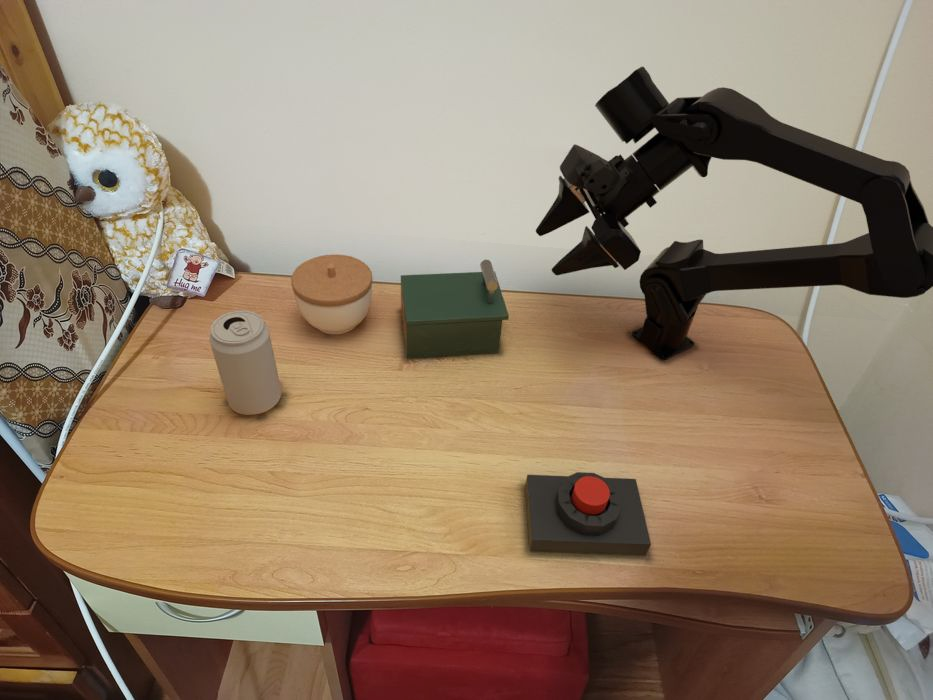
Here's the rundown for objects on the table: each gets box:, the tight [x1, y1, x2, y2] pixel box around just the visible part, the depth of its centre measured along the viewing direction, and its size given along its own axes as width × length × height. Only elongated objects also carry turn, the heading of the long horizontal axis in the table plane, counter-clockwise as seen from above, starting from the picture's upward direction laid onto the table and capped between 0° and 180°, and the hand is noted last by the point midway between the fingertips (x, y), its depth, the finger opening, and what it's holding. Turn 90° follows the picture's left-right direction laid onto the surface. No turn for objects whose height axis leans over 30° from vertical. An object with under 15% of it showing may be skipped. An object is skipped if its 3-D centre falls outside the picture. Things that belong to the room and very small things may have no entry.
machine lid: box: [400, 259, 510, 325], centre depth 83 cm, size 13×10×4 cm
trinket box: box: [290, 254, 374, 335], centre depth 86 cm, size 11×11×9 cm
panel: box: [524, 471, 652, 557], centre depth 66 cm, size 12×8×4 cm, turn 89°
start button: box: [572, 476, 610, 515], centre depth 64 cm, size 4×4×2 cm
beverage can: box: [209, 309, 282, 416], centre depth 73 cm, size 6×6×12 cm
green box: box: [400, 285, 503, 360], centre depth 87 cm, size 13×10×6 cm
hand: (545, 252), depth 82 cm, fingers open, 9 cm apart
